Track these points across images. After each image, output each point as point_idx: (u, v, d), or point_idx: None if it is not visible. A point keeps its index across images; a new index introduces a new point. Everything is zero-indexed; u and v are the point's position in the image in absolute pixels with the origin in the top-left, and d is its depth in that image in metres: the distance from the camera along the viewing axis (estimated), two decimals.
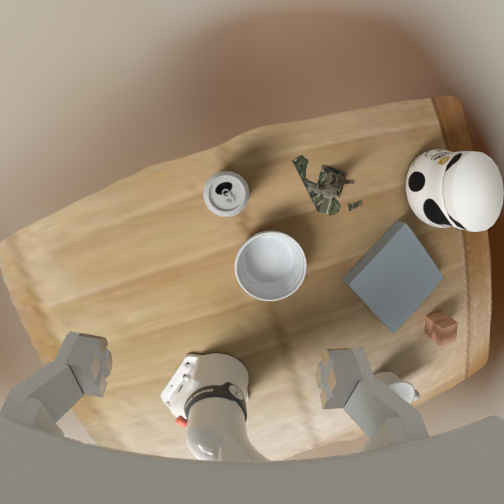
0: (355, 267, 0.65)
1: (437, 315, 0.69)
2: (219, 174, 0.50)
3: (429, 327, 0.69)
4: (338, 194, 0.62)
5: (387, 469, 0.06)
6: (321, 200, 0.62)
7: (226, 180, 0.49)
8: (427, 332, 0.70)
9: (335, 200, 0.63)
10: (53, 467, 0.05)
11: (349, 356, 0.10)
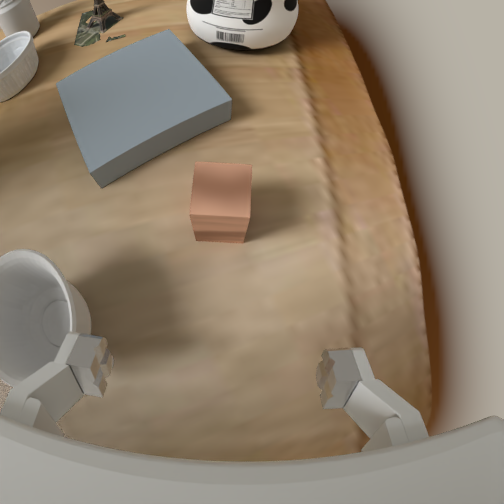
0: None
1: None
2: None
3: None
4: (101, 28, 0.40)
5: (387, 469, 0.06)
6: (84, 35, 0.40)
7: None
8: None
9: (97, 34, 0.40)
10: (52, 467, 0.05)
11: (349, 356, 0.10)
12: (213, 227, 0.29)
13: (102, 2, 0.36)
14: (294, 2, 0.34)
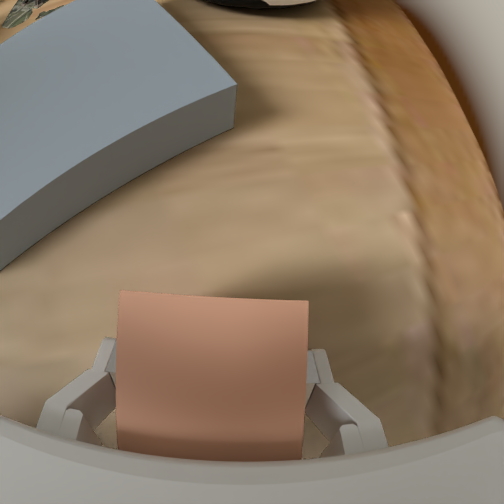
0: None
1: None
2: None
3: None
4: (36, 1, 0.21)
5: (387, 469, 0.06)
6: (15, 14, 0.21)
7: None
8: None
9: (30, 11, 0.21)
10: (53, 467, 0.05)
11: (308, 357, 0.10)
12: None
13: None
14: None
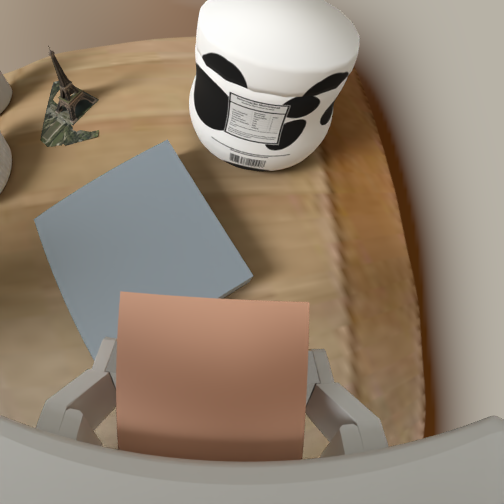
0: None
1: None
2: None
3: None
4: (71, 117, 0.36)
5: (387, 469, 0.06)
6: (52, 123, 0.37)
7: None
8: None
9: (66, 126, 0.37)
10: (53, 467, 0.05)
11: (308, 357, 0.10)
12: None
13: (68, 83, 0.33)
14: (331, 109, 0.32)
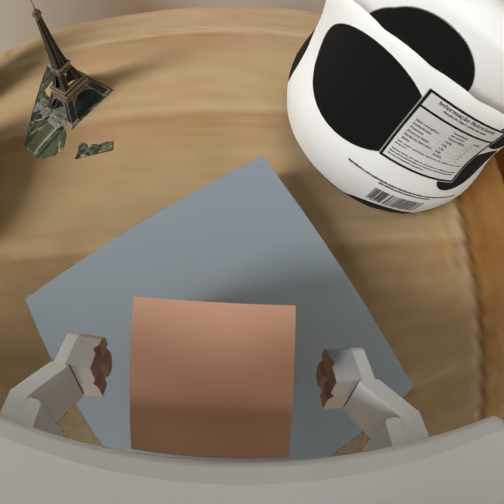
0: None
1: None
2: None
3: None
4: (69, 117, 0.23)
5: (387, 470, 0.06)
6: (40, 127, 0.23)
7: None
8: None
9: (62, 132, 0.23)
10: (52, 467, 0.05)
11: (349, 356, 0.10)
12: None
13: (65, 64, 0.19)
14: None
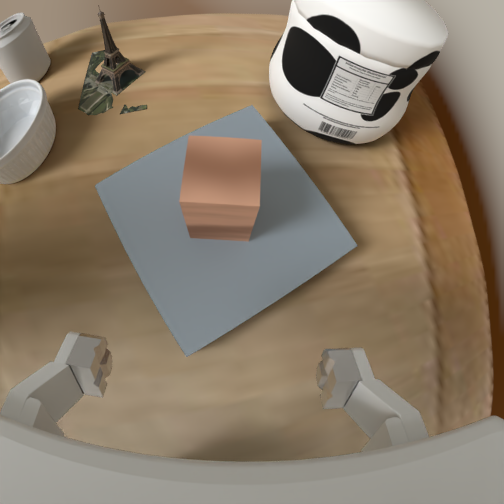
0: None
1: None
2: (16, 18, 0.25)
3: None
4: (115, 87, 0.34)
5: (387, 470, 0.06)
6: (91, 93, 0.34)
7: (15, 18, 0.24)
8: None
9: (109, 97, 0.34)
10: (53, 467, 0.05)
11: (349, 356, 0.10)
12: (211, 220, 0.22)
13: (115, 50, 0.30)
14: None
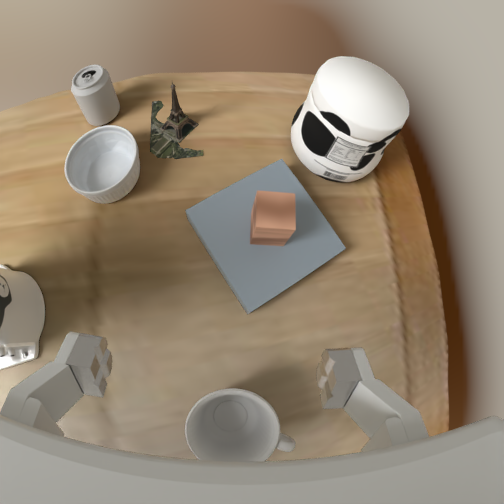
0: None
1: None
2: None
3: None
4: (178, 136, 0.54)
5: (387, 470, 0.06)
6: (159, 138, 0.54)
7: (93, 69, 0.44)
8: None
9: (173, 143, 0.54)
10: (52, 467, 0.05)
11: (349, 356, 0.10)
12: (267, 235, 0.42)
13: (179, 110, 0.50)
14: None
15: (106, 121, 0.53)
